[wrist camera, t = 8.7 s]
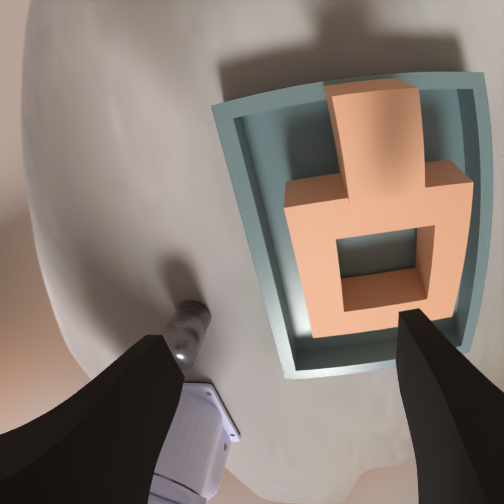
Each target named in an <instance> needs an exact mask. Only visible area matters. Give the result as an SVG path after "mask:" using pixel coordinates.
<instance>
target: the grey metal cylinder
mask: <svg viewBox="0 0 504 504" xmlns="http://www.w3.org/2000/svg"><path fill="white" fill-rule="evenodd" d="M210 321H211V315H210V312H209V311H208V309H207V308H206V307H205V306H204V305H202V304H200V303H198V302H196V301H184V302H182V303H181V304H180V305H179V306H178V308H177V310H176V312H175V313H174V315H173V317H172V319H171V320H170V322H169V324H168V326H167V328H166V329H165V331H164V333H163V337H164V339H165V341H166V343H167V345H168V347H169V349H170V351H171V353H172V355H173V357H174V359H175V360H176V362H177V364H178V366H179V368H180V370H184V369H188V368H190V367H191V366H192V365H193V362H194V360H195V357H196V355H197V353H198V350H199V348H200V345H201V343H202V340H203V338H204V336H205V333H206V331H207V328H208V326H209V324H210Z"/></svg>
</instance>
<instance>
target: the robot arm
mask: <svg viewBox="0 0 504 504" xmlns="http://www.w3.org/2000/svg"><path fill="white" fill-rule="evenodd" d="M396 368H397V374H398V381H399V387H400V393H401V397H402V401H403V405H404V409H405V413H406V417H407V421H408V425H409V429H410V434H411V438H412V443H413V447H414V452H415V458H416V464H417V476H418V493H419V504H504V392H502V391H501V390H500V389H499V388H498V387H496V386H495V385H494V384H493V383H492V382H491V381H490V380H489V379H487V378H486V377H485V376H484V375H483V374H482V373H481V372H480V371H479V370H478V369H477V368H476V367H475V366H474V365H473V364H472V363H471V362H470V361H469V360H468V359H467V358H466V357H465V356H464V355H463V354H462V353H461V352H460V351H459V350H458V349H457V348H456V347H455V346H454V345H453V344H452V343H451V342H450V341H449V340H448V339H447V338H446V337H445V335H444V334H443V333H442V332H441V331H440V330H439V329H438V328H437V327H436V326H435V325H434V323H433V322H432V321H431V320H430V319H429V318H428V317H427V316H426V315H425V314H424V312H423V311H422V310H420V309H419V308H417V309H411V310H406V311H400V312H399V316H398V336H397V351H396ZM184 378H185V377H184V375H183V373H182V372H181V370H180V368H179V366H178V364H177V362H176V360H175V359H174V357H173V355H172V353H171V351H170V349H169V347H168V345H167V343H166V341H165V339H164V337H163V335H146V336H145V337H143V338H142V339H141V340H139V341H138V342H137V343H136V344H134V345H133V346H132V347H131V348H129V349H128V350H127V351H126V352H125V353H124V354H122V355H121V356H120V357H119V358H118V359H117V360H115V361H114V362H113V363H112V364H111V365H110V366H108V367H107V368H106V369H105V370H104V371H103V372H101V373H100V374H99V375H98V376H97V377H95V378H94V379H93V380H92V381H90V382H89V383H88V384H87V385H85V386H84V387H83V388H82V389H80V390H79V391H78V392H77V393H75V394H74V395H73V396H71V397H70V398H68V399H67V400H66V401H64V402H63V403H61V404H60V405H58V406H57V407H55V408H54V409H52V410H50V411H49V412H47V413H45V414H43V415H42V416H40V417H38V418H36V419H34V420H32V421H31V422H29V423H27V424H25V425H23V426H21V427H18V428H16V429H13V430H11V431H8V432H6V433H3V434H1V435H0V504H206V501H208V500H209V499H211V498H212V497H213V496H214V495H215V493H216V492H217V491H218V489H219V486H220V483H221V479H222V475H223V471H224V468H225V464H226V460H227V456H228V452H229V448H230V444H231V442H239V441H240V439H241V437H240V435H239V434H238V432H237V430H236V428H235V426H234V425H233V423H232V421H231V419H230V417H229V416H228V414H227V412H226V410H225V408H224V406H223V404H222V403H221V401H220V399H219V397H218V395H217V393H216V391H215V389H214V387H213V386H212V385H210V384H207V383H184Z"/></svg>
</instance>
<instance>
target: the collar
mask: <svg viewBox="0 0 504 504" xmlns="http://www.w3.org/2000/svg"><path fill="white" fill-rule="evenodd" d="M324 91H325V95H326V100H327V105H328V109H329V114H330V119H331V124H332V130H333V135H334V141H335V146H336V152H337V158H338V164H339V170H340V173H336V174H329V175H323V176H317V177H311V178H305V179H299V180H293V181H287V182H286V184H285V197H284V211H285V215H286V220H287V224H288V228H289V232H290V236H291V240H292V245H293V249H294V253H295V258H296V262H297V266H298V271H299V275H300V280H301V284H302V289H303V293H304V298H305V302H306V307H307V312H308V317H309V321H310V326H311V331H312V336H313V338H318V337H327V336H336V335H344V334H352V333H359V332H367V331H373V330H380V329H387V328H393V327H398V316H399V312H400V311H406V310H411V309H417V308H419V309H420V310H422V311H423V312H424V314H425V315H426V316H427V317H428V318H429V319H430V320H431V321H433V320H438V319H443V318H448V317H452V315H453V311H454V307H455V303H456V299H457V294H458V290H459V285H460V281H461V276H462V270H463V265H464V260H465V254H466V247H467V241H468V234H469V226H470V218H471V208H472V197H473V183H474V182H473V181H472V180H471V179H470V178H469V177H468V176H467V175H466V174H465V173H464V172H463V171H462V170H461V169H459V168H458V167H457V166H456V165H455V164H454V163H453V162H452V161H451V160H441V161H431V162H425V160H424V141H423V127H422V116H421V106H420V97H419V89H418V87H415V86H413V85H410V84H408V83H405V82H402V81H400V80H397V79H394V78H387V79H376V80H366V81H357V82H348V83H341V84H333V85H327V86H324ZM411 228H417V245H416V262H415V268H410V269H404V270H398V271H391V272H384V273H378V274H371V275H364V276H357V277H350V278H343V279H341V278H340V270H339V261H338V253H337V246H336V239H342V238H349V237H356V236H363V235H370V234H377V233H383V232H390V231H397V230H404V229H411Z"/></svg>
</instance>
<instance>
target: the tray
mask: <svg viewBox="0 0 504 504" xmlns="http://www.w3.org/2000/svg"><path fill="white" fill-rule="evenodd" d="M387 78H394V79H397V80H400V81H402V82H405V83H408V84H410V85H413V86H415V87H418V89H419V97H420V106H421V116H422V127H423V141H424V160H425V162H431V161H441V160H451V161H452V162H453V163H454V164H455V165H456V166H457V167H458V168H459V169H461V170H462V171H463V172H464V173H465V174H466V175H467V176H468V177H469V178H470V179H471V180H472V181H473V182H474V183H473V197H472V208H471V218H470V226H469V234H468V241H467V247H466V254H465V260H464V265H463V270H462V276H461V281H460V285H459V290H458V294H457V299H456V303H455V307H454V311H453V315H452V317H448V318H443V319H438V320H433V321H432V322H433V323H434V325H435V326H436V327H437V328H438V329H439V330H440V331H441V332H442V333H443V334H444V335H445V337H446V338H447V339H448V340H449V341H450V342H451V343H452V344H453V345H454V346H455V347H456V348H457V349H458V350H459V351H460V352H461V353H462V354H463V353H467V352H470V348H471V344H472V341H473V337H474V333H475V329H476V324H477V320H478V316H479V311H480V306H481V301H482V296H483V290H484V284H485V278H486V272H487V265H488V257H489V248H490V238H491V226H492V210H493V151H492V135H491V123H490V113H489V105H488V97H487V91H486V84H485V78H484V73H481V72H410V73H393V74H380V75H369V76H359V77H351V78H343V79H336V80H329V81H322V82H316V83H310V84H304V85H298V86H293V87H288V88H283V89H278V90H273V91H268V92H264V93H259V94H255V95H251V96H247V97H243V98H239V99H235V100H231V101H227V102H223V103H220V104H216V105H212V106H211V108H212V112H213V115H214V119H215V123H216V126H217V130H218V134H219V138H220V141H221V145H222V149H223V152H224V156H225V160H226V163H227V167H228V171H229V174H230V178H231V182H232V185H233V189H234V193H235V196H236V200H237V204H238V207H239V211H240V215H241V218H242V222H243V226H244V229H245V233H246V237H247V240H248V244H249V248H250V251H251V255H252V259H253V263H254V266H255V270H256V274H257V277H258V281H259V284H260V288H261V292H262V295H263V299H264V303H265V306H266V310H267V314H268V317H269V321H270V325H271V328H272V332H273V336H274V339H275V343H276V347H277V350H278V354H279V358H280V361H281V365H282V369H283V372H284V376H285V380H286V379H301V378H314V377H325V376H335V375H344V374H352V373H360V372H368V371H375V370H381V369H388V368H394V367H396V351H397V336H398V327H393V328H387V329H380V330H373V331H367V332H359V333H352V334H344V335H336V336H327V337H318V338H313V336H312V331H311V326H310V321H309V317H308V312H307V307H306V302H305V298H304V293H303V289H302V284H301V280H300V275H299V271H298V266H297V262H296V258H295V253H294V249H293V245H292V240H291V236H290V232H289V228H288V224H287V220H286V215H285V211H284V197H285V184H286V182H287V181H293V180H299V179H305V178H311V177H317V176H323V175H329V174H336V173H340V170H339V164H338V158H337V152H336V146H335V141H334V135H333V130H332V124H331V119H330V114H329V109H328V105H327V100H326V95H325V91H324V86H327V85H333V84H341V83H348V82H357V81H366V80H376V79H387ZM416 245H417V228H411V229H404V230H397V231H390V232H383V233H377V234H370V235H363V236H356V237H349V238H342V239H336V246H337V253H338V261H339V270H340V278H341V279H343V278H350V277H357V276H364V275H371V274H378V273H384V272H391V271H398V270H404V269H410V268H415V262H416Z"/></svg>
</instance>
